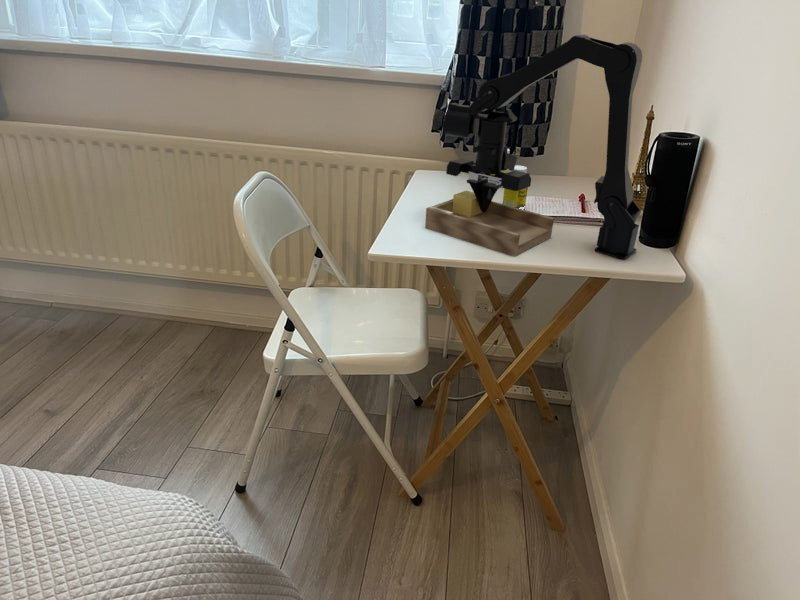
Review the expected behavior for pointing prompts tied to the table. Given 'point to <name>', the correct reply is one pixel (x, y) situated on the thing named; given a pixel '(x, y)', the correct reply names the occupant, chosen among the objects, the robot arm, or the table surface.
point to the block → (466, 204)
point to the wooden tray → (492, 226)
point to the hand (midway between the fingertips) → (483, 211)
